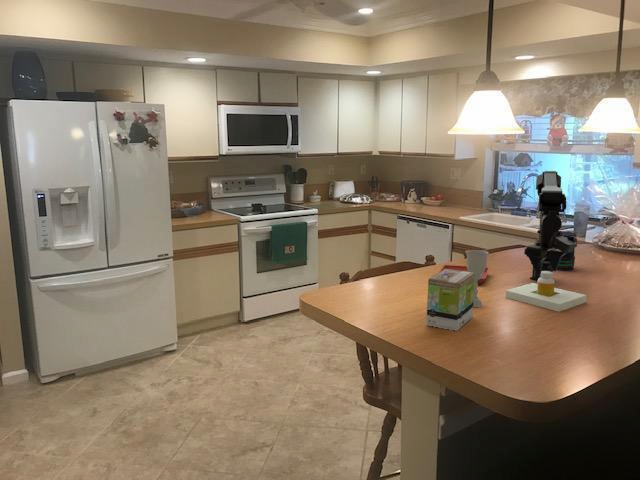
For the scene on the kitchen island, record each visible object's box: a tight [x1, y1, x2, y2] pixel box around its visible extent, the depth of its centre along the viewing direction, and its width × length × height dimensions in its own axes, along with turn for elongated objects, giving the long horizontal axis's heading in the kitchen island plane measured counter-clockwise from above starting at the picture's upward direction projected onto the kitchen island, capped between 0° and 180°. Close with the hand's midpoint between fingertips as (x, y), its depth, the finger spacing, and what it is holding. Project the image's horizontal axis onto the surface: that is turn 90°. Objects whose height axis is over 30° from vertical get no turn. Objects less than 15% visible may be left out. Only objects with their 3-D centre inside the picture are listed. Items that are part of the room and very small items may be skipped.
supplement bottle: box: [536, 271, 555, 297], centre depth 183 cm, size 5×5×10 cm
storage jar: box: [556, 230, 577, 272], centre depth 225 cm, size 10×10×15 cm
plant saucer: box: [438, 264, 490, 285], centre depth 213 cm, size 18×18×3 cm
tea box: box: [425, 269, 475, 332], centre depth 163 cm, size 15×10×15 cm
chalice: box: [465, 249, 489, 308], centre depth 178 cm, size 7×7×18 cm
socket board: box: [504, 282, 587, 313], centre depth 184 cm, size 20×16×2 cm
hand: (546, 273), depth 182 cm, fingers open, 9 cm apart
